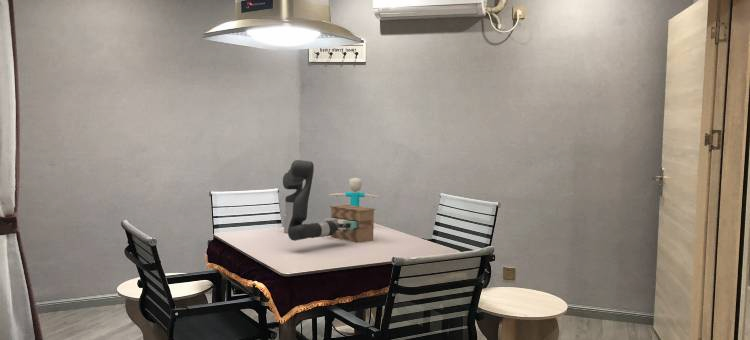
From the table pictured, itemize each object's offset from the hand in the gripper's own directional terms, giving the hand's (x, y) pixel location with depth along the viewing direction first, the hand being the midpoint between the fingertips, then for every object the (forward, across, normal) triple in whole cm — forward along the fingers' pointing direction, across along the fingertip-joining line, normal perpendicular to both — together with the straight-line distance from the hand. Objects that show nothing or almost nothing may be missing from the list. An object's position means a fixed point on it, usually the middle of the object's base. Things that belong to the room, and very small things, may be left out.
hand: (349, 225), depth 340 cm
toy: (+34, +31, +9) cm, 47 cm away
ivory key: (+5, +7, +2) cm, 9 cm away
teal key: (+5, 0, +2) cm, 5 cm away
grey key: (+2, +14, +2) cm, 14 cm away
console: (+9, +7, +9) cm, 14 cm away
